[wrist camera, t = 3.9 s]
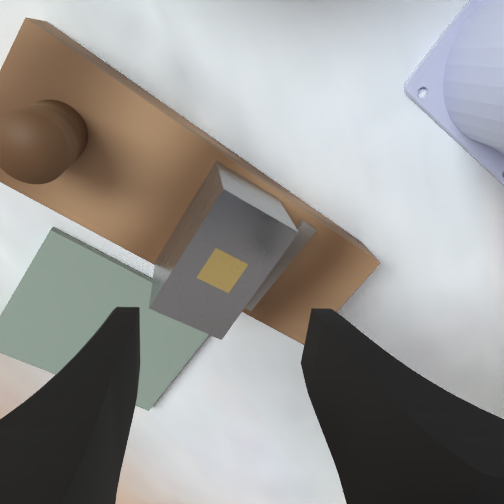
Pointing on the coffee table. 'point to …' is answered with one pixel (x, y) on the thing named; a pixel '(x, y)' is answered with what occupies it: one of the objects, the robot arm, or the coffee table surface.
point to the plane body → (147, 172)
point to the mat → (90, 314)
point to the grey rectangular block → (220, 252)
